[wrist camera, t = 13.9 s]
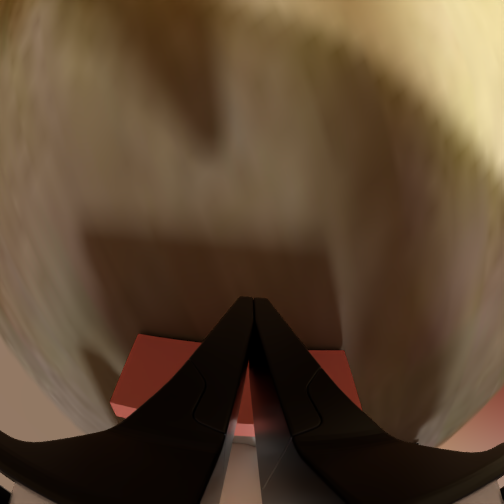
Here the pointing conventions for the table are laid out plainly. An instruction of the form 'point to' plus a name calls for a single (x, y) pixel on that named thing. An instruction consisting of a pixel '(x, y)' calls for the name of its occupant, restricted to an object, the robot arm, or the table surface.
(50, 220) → the table surface
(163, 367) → the tray
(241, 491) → the canister
